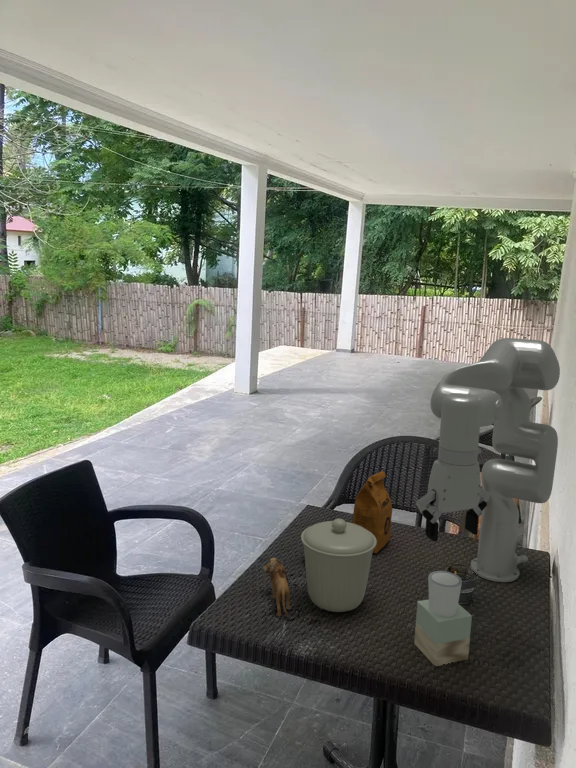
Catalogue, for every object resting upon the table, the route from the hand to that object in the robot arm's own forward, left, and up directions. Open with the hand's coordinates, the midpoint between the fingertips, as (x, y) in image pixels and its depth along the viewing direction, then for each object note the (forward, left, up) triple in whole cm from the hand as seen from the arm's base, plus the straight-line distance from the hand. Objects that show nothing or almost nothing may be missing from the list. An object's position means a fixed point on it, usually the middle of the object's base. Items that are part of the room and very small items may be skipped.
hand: (451, 535), depth 118 cm
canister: (+13, -25, -27) cm, 39 cm away
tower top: (0, 0, -21) cm, 21 cm away
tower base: (0, 0, -26) cm, 26 cm away
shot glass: (+1, 0, -17) cm, 17 cm away
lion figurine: (+27, -28, -27) cm, 47 cm away
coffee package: (-10, -49, -27) cm, 56 cm away
